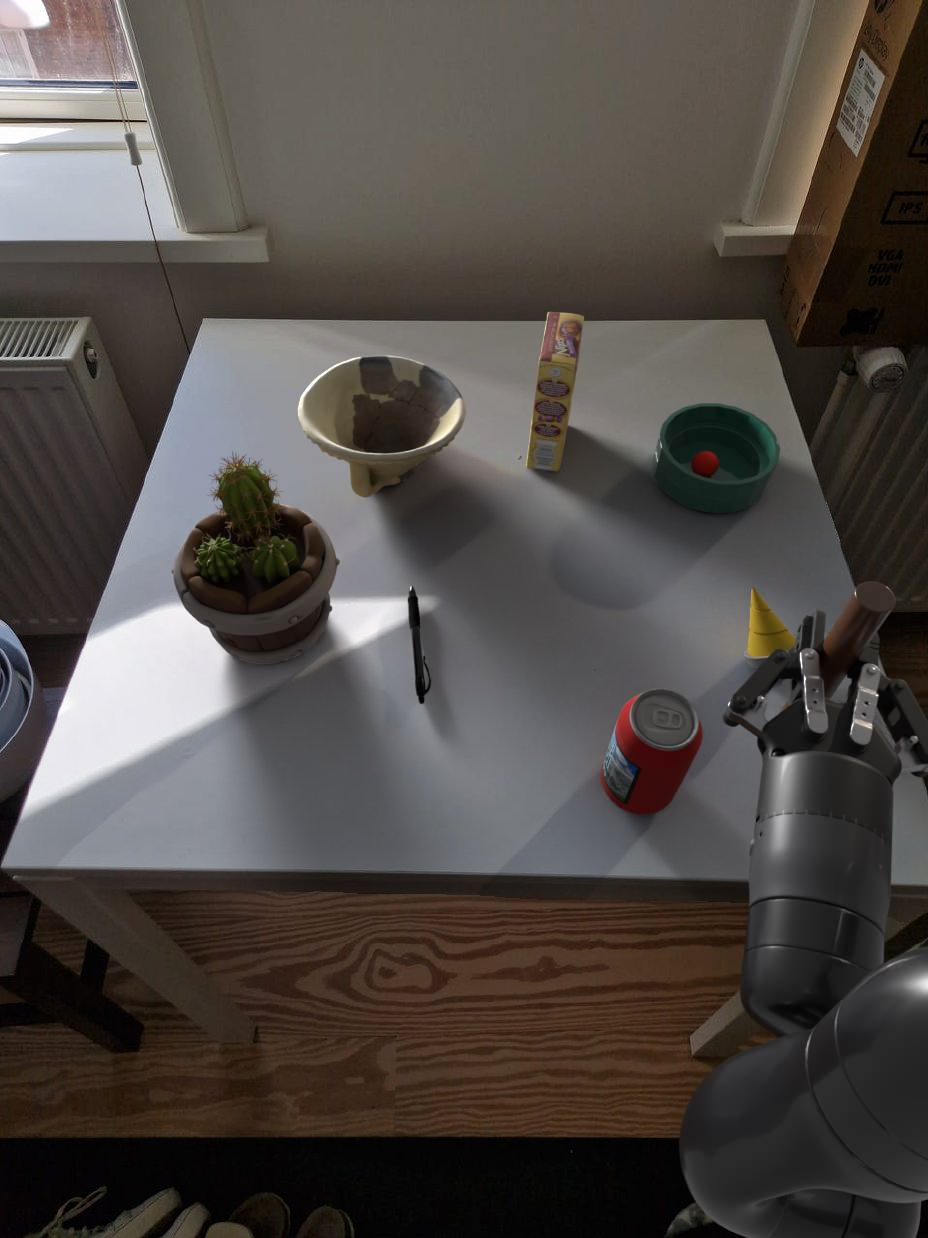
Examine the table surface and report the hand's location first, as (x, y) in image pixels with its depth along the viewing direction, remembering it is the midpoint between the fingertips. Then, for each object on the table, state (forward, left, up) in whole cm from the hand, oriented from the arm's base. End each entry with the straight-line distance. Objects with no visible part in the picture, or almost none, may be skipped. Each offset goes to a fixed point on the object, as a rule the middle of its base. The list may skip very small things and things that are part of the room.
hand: (837, 623), depth 60 cm
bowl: (+45, -26, -22) cm, 57 cm away
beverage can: (+10, +5, -22) cm, 25 cm away
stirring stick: (0, +3, -10) cm, 10 cm away
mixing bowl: (+9, -36, -22) cm, 43 cm away
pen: (+33, -3, -22) cm, 40 cm away
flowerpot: (+48, -1, -22) cm, 53 cm away
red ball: (+10, -35, -20) cm, 42 cm away
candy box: (+28, -35, -22) cm, 50 cm away
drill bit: (+1, -12, -22) cm, 25 cm away
